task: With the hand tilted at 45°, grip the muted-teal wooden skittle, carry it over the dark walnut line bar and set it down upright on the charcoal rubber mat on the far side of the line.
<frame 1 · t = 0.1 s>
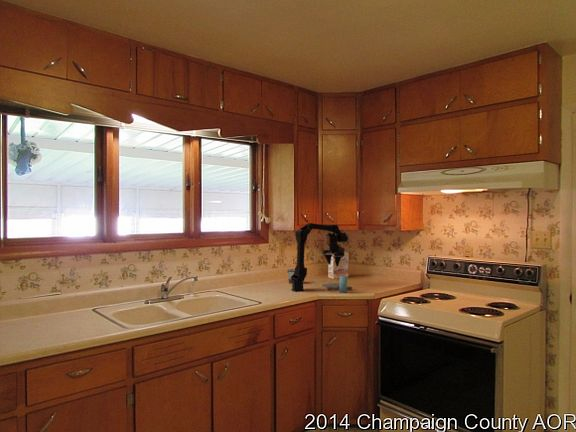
hand: (333, 265, 273), 15 cm above the counter, tool pointing down, fingers open, 9 cm apart
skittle: (343, 292, 254), on the counter
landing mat: (334, 286, 274), on the counter
food container: (295, 283, 287), on the counter
line bar: (339, 290, 261), on the counter
coffeecake box: (338, 277, 311), on the counter
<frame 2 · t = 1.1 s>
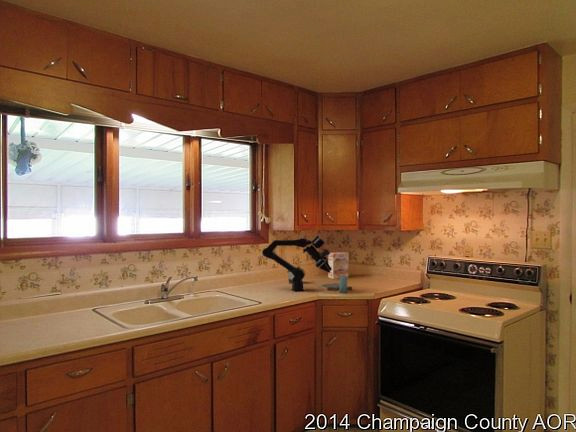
hand: (330, 271, 256), 13 cm above the counter, tool tilted 45°, fingers open, 9 cm apart
nothing on the counter moved.
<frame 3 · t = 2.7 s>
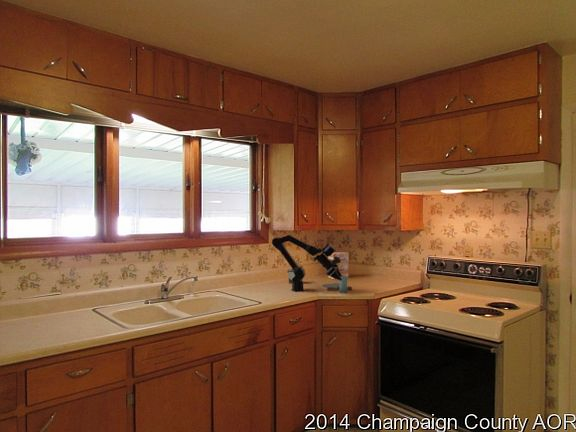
hand: (342, 279, 254), 8 cm above the counter, tool tilted 45°, fingers open, 9 cm apart
nothing on the counter moved.
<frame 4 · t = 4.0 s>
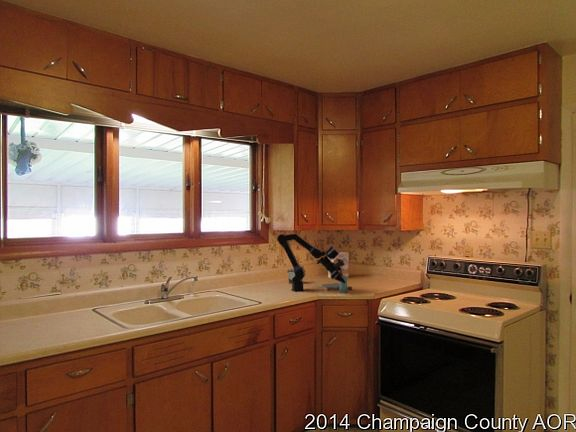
hand: (345, 282, 254), 7 cm above the counter, tool tilted 45°, fingers closed on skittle, 5 cm apart
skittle: (343, 292, 254), on the counter, touching gripper
everything else where it was.
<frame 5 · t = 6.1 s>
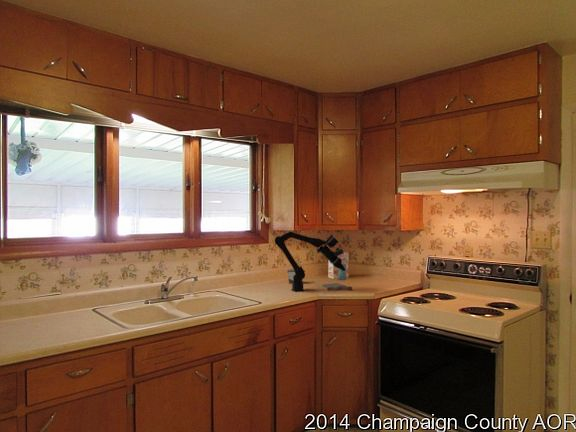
hand: (344, 269, 261), 13 cm above the counter, tool tilted 45°, fingers closed on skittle, 5 cm apart
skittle: (342, 279, 261), point 7 cm above the counter, touching gripper
everything else where it was.
when the fingers open (9 cm above the counter, at t = 8.5 s): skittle drops 1 cm, resting on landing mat.
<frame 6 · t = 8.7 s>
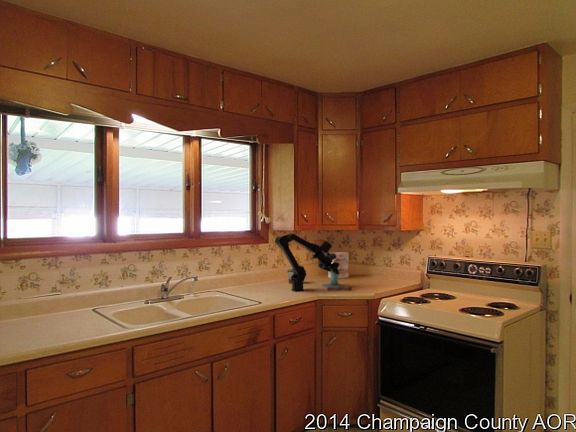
hand: (335, 273, 274), 9 cm above the counter, tool tilted 45°, fingers open, 7 cm apart
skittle: (334, 285, 274), point 1 cm above the counter, touching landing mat
everything else where it was.
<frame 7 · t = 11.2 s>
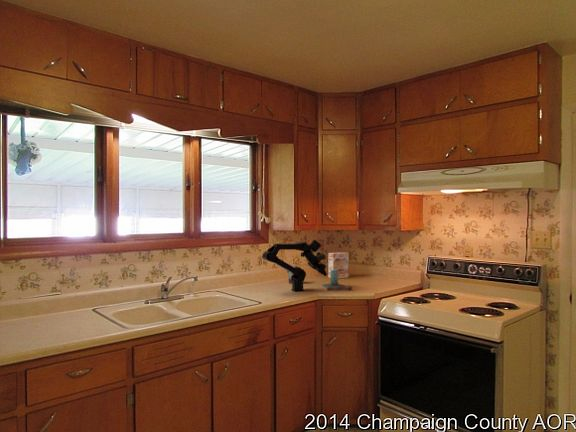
hand: (323, 273, 270), 9 cm above the counter, tool tilted 40°, fingers open, 9 cm apart
nothing on the counter moved.
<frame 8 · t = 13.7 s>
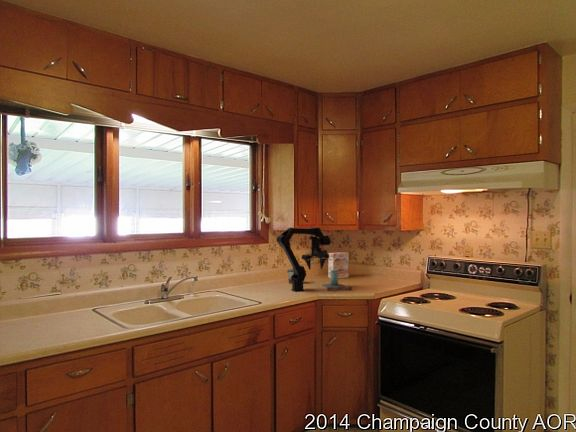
hand: (315, 269, 267), 13 cm above the counter, tool pointing down, fingers open, 9 cm apart
nothing on the counter moved.
at the end: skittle inside the target area (0.0 cm from its centre), point 1.0 cm above the counter; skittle tilted 0°; the gripper is holding nothing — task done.
